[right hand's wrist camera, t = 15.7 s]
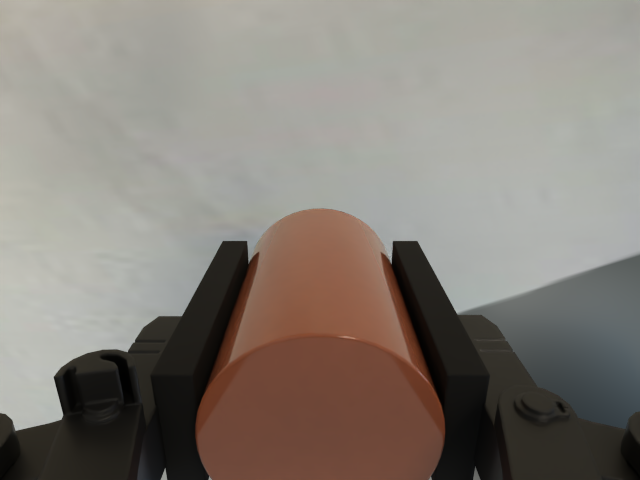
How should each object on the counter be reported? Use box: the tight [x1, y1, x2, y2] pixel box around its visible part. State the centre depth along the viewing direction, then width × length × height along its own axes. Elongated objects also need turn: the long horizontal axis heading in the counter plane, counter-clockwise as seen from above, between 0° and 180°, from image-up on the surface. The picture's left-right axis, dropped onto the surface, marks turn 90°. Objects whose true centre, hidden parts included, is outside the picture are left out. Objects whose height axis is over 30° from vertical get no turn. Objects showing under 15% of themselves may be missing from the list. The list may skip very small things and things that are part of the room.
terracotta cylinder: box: [195, 209, 446, 480], centre depth 12 cm, size 5×5×7 cm
